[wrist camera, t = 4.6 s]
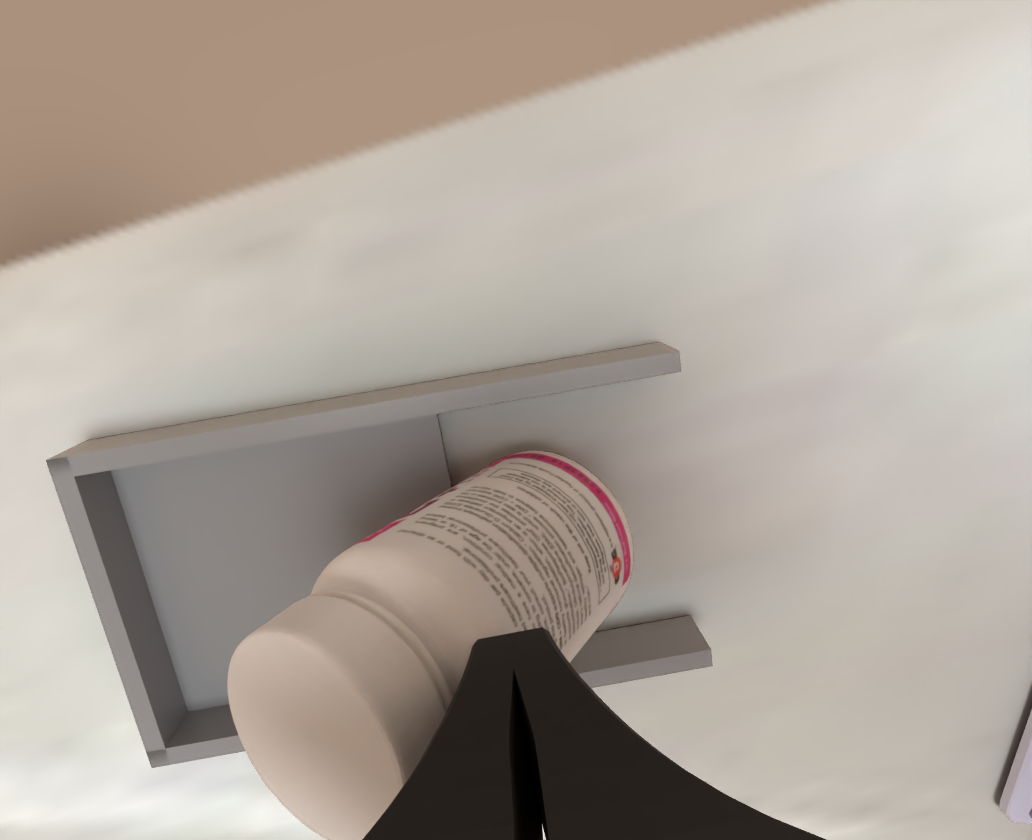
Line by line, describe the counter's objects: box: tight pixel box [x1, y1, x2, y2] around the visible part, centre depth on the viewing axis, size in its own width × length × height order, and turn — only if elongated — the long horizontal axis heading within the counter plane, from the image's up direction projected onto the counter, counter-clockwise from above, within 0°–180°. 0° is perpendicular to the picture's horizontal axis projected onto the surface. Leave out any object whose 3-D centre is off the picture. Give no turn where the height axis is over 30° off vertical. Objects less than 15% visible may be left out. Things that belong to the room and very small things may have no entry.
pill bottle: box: [227, 451, 634, 840], centre depth 14 cm, size 5×5×8 cm
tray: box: [46, 342, 713, 768], centre depth 18 cm, size 15×9×2 cm, turn 99°
